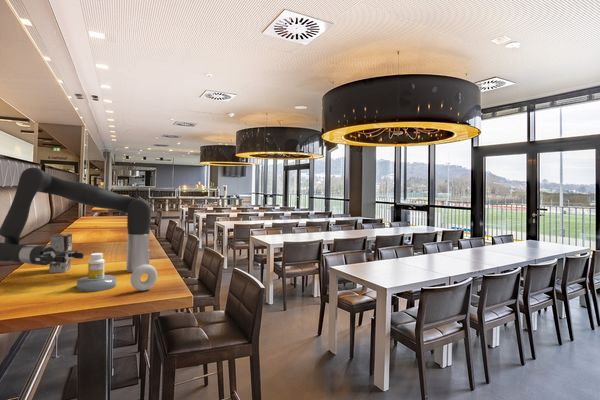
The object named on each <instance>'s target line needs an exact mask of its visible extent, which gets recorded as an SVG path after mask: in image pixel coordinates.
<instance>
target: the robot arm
mask: <svg viewBox="0 0 600 400" xmlns="http://www.w3.org/2000/svg"><path fill="white" fill-rule="evenodd" d="M38 193H42V194H43V193H44V194H49V195H55V196H58V197H62V198H65V199H66V200H69V201H72V202H75V203H78V204H82V205H85V206H89V207H94V208H99V209H104V210H114V211H119V212H121V213H124V214H127V215H126V217H127V218H126V220H127V221H126V222H127V223H126V227H127V240H126V242H127V243H126V244H127V245H126V271H125V272H128V273H133V271H134V270H135V269H136V268H137V267H139V266H140V265H144V264H148V265H150V255H151V252H150V231H151V230H150V228H151V227H150V226H151V225H150V219H151V218H150V217H151V211H152V207H151V204H150V202H148V200H147V199H143V198H137V197H131V196H127V195H123V194H119V193H117V192H114V191H111V190H110V189H106V188H103V187H99V186H96V185H93V184H90V183H86V182H80V181H71V180H64V179H62V178H58V177H56V176H53V175H50V174H49V173H46V172H45V171H44V170H42V169H41V168H38V167H29V168H28V167H27V168H26V169H24V170H22V172H21V174H20V177H19V180H18V184H17V187H16V191H15V193H14V197H13V199H12V202H11V205H10V207H9V210H8V211H7V214H6V216H5V217H4V219H3V222H2V223H1V226H0V236H1V237H3V238H4V241H3V242H0V262H5V263H6V262H14V263H19V264H21V263H22V264H27V265H35V266H37V265H38V266H49V264H50V263H56V262H58V263H65V262H66V260H67V259H69V258H71V259H78V260H79V259H80V260H81V259H84V253H83V252H78V250H72V249H71V250H63V251H60V250H56V251H55V250H54V249H53V248H52V247H51V246H50V245H41V244H40V245H39V244H38V245H37V244H29V245H28V244H20V238H21V234H22V233H23V230H24V229H25V226H26V224H27V221H28V219H29V214H30V211H31V210H30V209H31V205H32V203H33V200H34V198H35V196H36V195H37V194H38Z"/></svg>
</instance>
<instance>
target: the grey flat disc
mask: <svg viewBox="0 0 600 400" xmlns="http://www.w3.org/2000/svg"><path fill="white" fill-rule="evenodd" d="M116 286H117V276H115V275H111V274H104V279H102V280H96V281H91V280H88V275H87V276H84V277H79V278H77V279H76V290H77V291H78V292H87V293H88V292H91V293H96V292H102V291H107V290H111V289H114V288H115V287H116Z"/></svg>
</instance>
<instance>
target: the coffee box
mask: <svg viewBox="0 0 600 400" xmlns="http://www.w3.org/2000/svg"><path fill="white" fill-rule="evenodd" d="M49 239H50V240H49V246H51V247H52V248H53V249H54V250H55V251H56V250H60V251H63V250H71V251H72V250H73V249H72V247H73V246H72V243H73V233H55V234H52V235H50V236H49ZM48 266H49V270H48V272H49V274H53V273H55V274H58V273H67V272H68V271H69V270H71V269H72V258H69V259H67V260H66V262H65V263H58V262H56V263H50V264H48Z"/></svg>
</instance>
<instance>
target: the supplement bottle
mask: <svg viewBox="0 0 600 400" xmlns="http://www.w3.org/2000/svg"><path fill="white" fill-rule="evenodd" d="M103 257H104V253H102V252H93V253H91V254H90V259H89V260H88V262H87V265H88V266H87V270H88V271H87V276H88V280H91V281H96V280H102V279H104V275H105V261H106V260H105V259H104V258H103Z"/></svg>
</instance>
